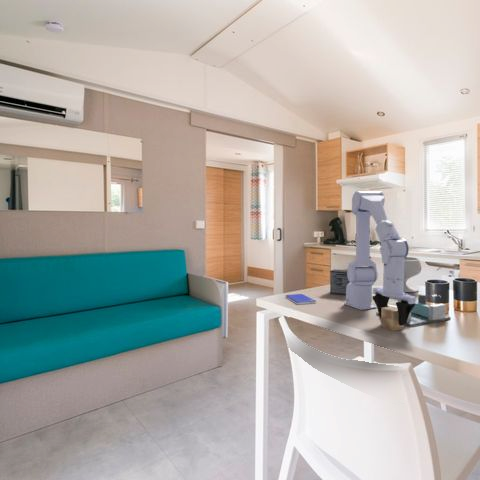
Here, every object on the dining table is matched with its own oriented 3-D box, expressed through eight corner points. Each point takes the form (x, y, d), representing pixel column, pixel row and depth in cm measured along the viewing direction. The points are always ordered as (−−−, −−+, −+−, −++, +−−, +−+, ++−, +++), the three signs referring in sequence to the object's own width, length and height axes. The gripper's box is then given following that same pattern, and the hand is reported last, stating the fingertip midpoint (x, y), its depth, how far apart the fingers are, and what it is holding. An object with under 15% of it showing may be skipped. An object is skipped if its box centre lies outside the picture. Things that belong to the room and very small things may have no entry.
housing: (381, 326, 104) (381, 307, 103) (391, 324, 105) (392, 306, 105) (392, 330, 99) (393, 311, 99) (403, 328, 101) (403, 309, 101)
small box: (357, 293, 147) (357, 270, 146) (353, 296, 142) (354, 272, 141) (333, 290, 153) (334, 268, 152) (329, 293, 147) (329, 270, 147)
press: (376, 314, 116) (376, 299, 115) (414, 308, 123) (414, 294, 122) (410, 326, 103) (410, 310, 102) (450, 319, 110) (451, 303, 109)
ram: (403, 309, 118) (403, 293, 117) (411, 308, 119) (412, 292, 119) (428, 317, 108) (428, 299, 108) (437, 315, 110) (438, 298, 110)
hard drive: (316, 300, 131) (302, 293, 143) (297, 302, 129) (285, 294, 141) (316, 304, 131) (302, 297, 143) (297, 305, 129) (285, 298, 141)
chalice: (401, 294, 144) (402, 260, 143) (380, 287, 158) (381, 257, 157) (427, 292, 148) (429, 259, 147) (405, 286, 161) (406, 256, 160)
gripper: (366, 275, 106) (365, 316, 107) (403, 283, 93) (402, 330, 94) (382, 273, 109) (381, 313, 110) (421, 281, 96) (419, 326, 97)
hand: (392, 321), depth 102 cm, fingers open, 7 cm apart
